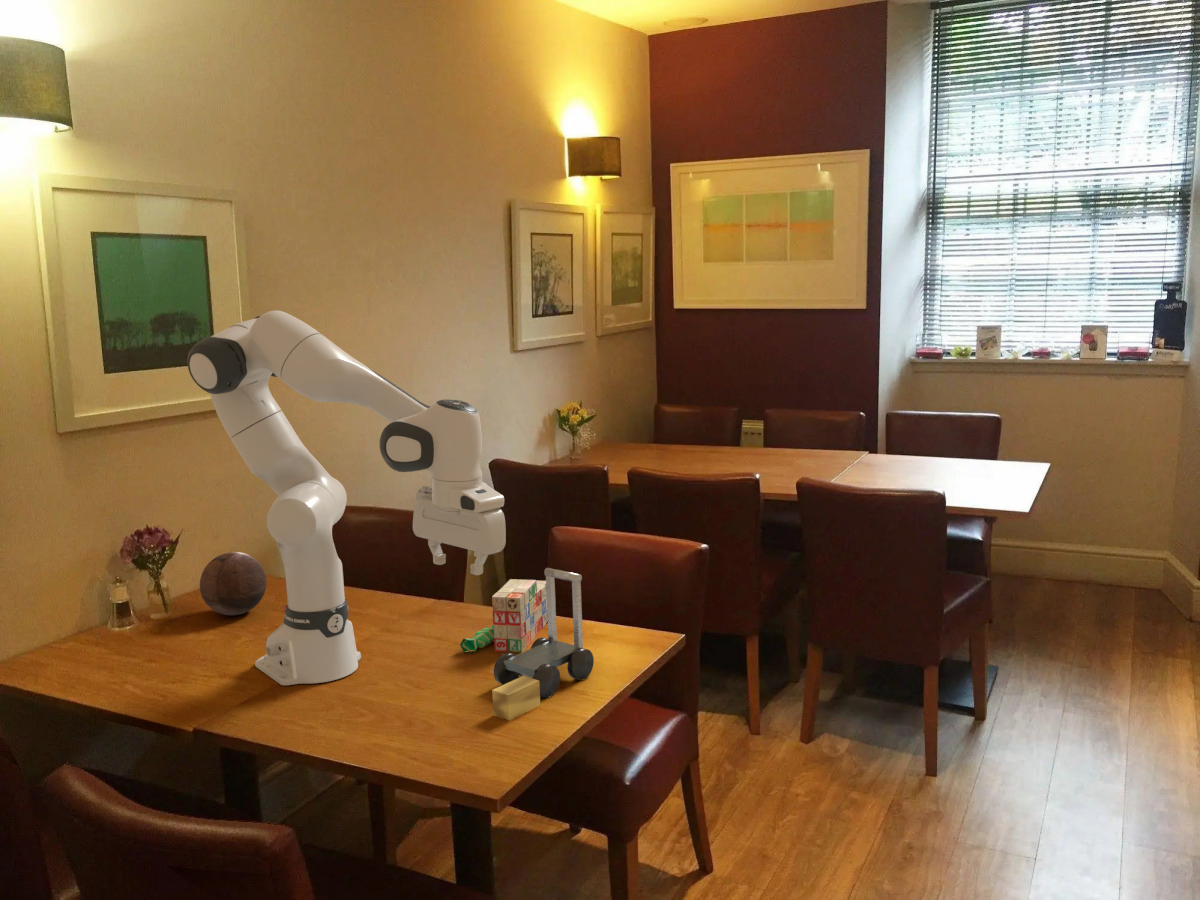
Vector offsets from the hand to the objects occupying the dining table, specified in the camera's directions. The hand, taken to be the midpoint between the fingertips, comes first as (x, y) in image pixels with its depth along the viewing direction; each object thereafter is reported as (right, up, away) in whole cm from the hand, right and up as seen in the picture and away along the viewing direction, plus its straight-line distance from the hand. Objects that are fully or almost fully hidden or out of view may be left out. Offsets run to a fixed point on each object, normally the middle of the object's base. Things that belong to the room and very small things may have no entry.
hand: (457, 568), depth 178 cm
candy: (+1, -21, +37) cm, 43 cm away
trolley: (+15, -24, +16) cm, 32 cm away
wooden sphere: (-62, -18, +63) cm, 90 cm away
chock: (+10, -26, +3) cm, 28 cm away
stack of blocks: (+9, -20, +43) cm, 48 cm away
